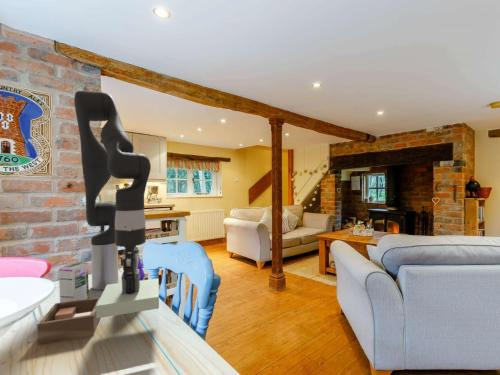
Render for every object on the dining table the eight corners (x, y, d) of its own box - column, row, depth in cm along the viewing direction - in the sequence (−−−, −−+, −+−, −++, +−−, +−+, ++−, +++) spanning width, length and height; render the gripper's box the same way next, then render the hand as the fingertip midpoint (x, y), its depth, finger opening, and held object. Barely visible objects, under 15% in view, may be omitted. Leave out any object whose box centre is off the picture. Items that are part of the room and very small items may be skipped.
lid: (107, 295, 75) (106, 267, 75) (158, 288, 80) (158, 262, 80) (96, 318, 62) (95, 284, 62) (158, 308, 66) (158, 277, 66)
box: (55, 323, 76) (55, 303, 76) (102, 316, 80) (102, 297, 80) (38, 348, 65) (37, 324, 64) (93, 338, 69) (93, 315, 69)
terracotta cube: (60, 322, 75) (59, 308, 75) (76, 320, 76) (76, 306, 76) (55, 330, 71) (54, 315, 71) (72, 327, 73) (71, 313, 72)
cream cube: (75, 328, 72) (75, 314, 72) (91, 325, 73) (91, 311, 73) (70, 336, 68) (70, 321, 68) (88, 333, 70) (88, 318, 69)
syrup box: (74, 313, 82) (74, 267, 82) (59, 311, 83) (58, 266, 83) (89, 305, 87) (88, 262, 87) (74, 303, 89) (73, 261, 88)
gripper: (118, 223, 76) (119, 282, 76) (110, 232, 62) (111, 303, 63) (146, 222, 78) (147, 279, 79) (144, 229, 65) (145, 298, 65)
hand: (131, 289), depth 71 cm, fingers closed on lid, 4 cm apart
